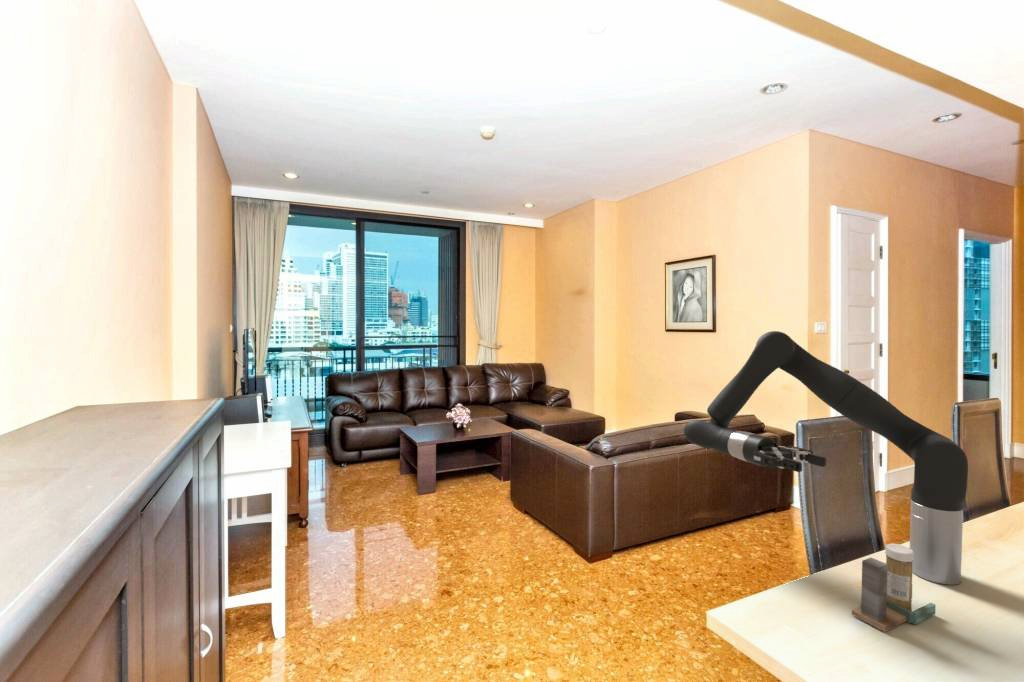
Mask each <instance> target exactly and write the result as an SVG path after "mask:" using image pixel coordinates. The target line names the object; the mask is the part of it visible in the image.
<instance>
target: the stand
mask: <svg viewBox="0 0 1024 682" xmlns="http://www.w3.org/2000/svg"><path fill="white" fill-rule="evenodd" d="M861 561H862V563H861V599H860V600H861V601H860V605H859V606H857V607H855V608H853V609H851V616H854V617H856V618H857V619H859V620H860V621H864V622H865V623H867V624H869V625H871V626H873V627H875V628H877V629H879V630H880V631H882V632H884V633H885V632H887V631H889V630H892V629H893V628H896V627H897V626H899V625H901V624H903V623H905V622H909V623H910V624H913V625H916V624H919V623H920V622H923V621H924V620H926V619H928V618H930V617H932V616H935V615H936V604H935V603H933V602H929V603H927V604H925V605H923V606H921V607H919V608H916V609H915V610H912V611H910V610H907V609H905V608H903V607H901V606H899V605H897V604H895V603H893V602H890V601H888V600H887V569H888V564H886V563H885V562H884V561H881V560H878V559H876V558H874V557H869V558H866V559H863V560H861Z"/></svg>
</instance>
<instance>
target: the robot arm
mask: <svg viewBox="0 0 1024 682" xmlns="http://www.w3.org/2000/svg"><path fill="white" fill-rule="evenodd" d="M778 369H780V370H782V371H783V372H785V373H787V374H789V375H791V376H792V377H794V378H795V379H796V380H798V381H799V382H801V384H803V385H804V386H805V387H806V388H807V389H809V390H810V391H811V392H812V393H813V394H814V395H815V396H816V397H817V398H819V399H820V400H821V401H822V402H823V403H825V404H826V405H828V406H829V407H830V408H832V409H833V410H834V411H836V412H838V414H841V415H842V416H844V417H845V418H847V419H849V420H850V421H852V422H853V423H856V424H857V425H859V426H862V427H863V428H865V429H867V430H869V431H871V432H874V433H876V434H878V435H879V436H880V437H881V436H882V437H883V438H885V439H887V441H889V442H890V443H892V444H893V445H894V446H896V447H897V448H898V449H900V451H901V452H903V453H904V454H906V456H907V457H909V458H910V459H911V460H913V461H914V471H913V473H914V475H913V484H912V488H911V490H910V521H909V522H910V523H909V548H910V549H911V550H912V551H913V553H914V560H913V562H912V574H914V575H916V576H917V577H920V578H922V579H923V580H927V581H930V582H933V583H937V584H943V585H951V586H952V585H953V586H954V585H959V584H961V581H962V580H961V579H962V561H963V559H962V555H963V528H964V527H963V524H964V522H963V519H964V518H963V516H964V502H965V499H967V498H966V497H967V492H968V491H967V490H968V476H969V474H968V473H969V462H968V461H969V460H968V457H967V454H966V452H965V450H963V448H961V447H960V446H959V445H958V444H957V443H956V442H955V441H953V440H952V439H950V438H949V437H947V436H945V435H943V434H941V433H938V432H937V431H935V430H932V429H931V428H929V427H927V426H925V425H923V424H922V423H919V422H918V421H916V420H915V419H912V418H911V417H909V416H908V415H906V414H904V413H903V411H901V410H899V409H898V408H897V407H896V406H895V405H893V404H892V403H891V402H890V401H888V400H887V399H886V398H885V397H883V396H882V395H880V394H879V393H877V392H876V391H875V390H874V389H872V388H871V387H869V386H867V385H866V384H865V383H863V382H861V381H859V380H858V379H857V378H855V377H853V376H851V375H849V374H848V373H846V372H844V371H842V370H840V369H839V368H837V367H835V366H832V365H831V364H828V363H826V362H825V361H822V360H820V359H818V358H817V357H815V356H814V355H812V354H811V353H809V351H807V350H806V349H804V348H803V347H802V346H800V345H799V344H798V343H797V342H795V340H793V338H791V336H789V335H788V334H786V333H785V332H783V331H779V330H778V331H776V330H771V331H768V332H766V333H763V334H762V335H761V336H760V337H759V338H758V339H757V341H756V344H755V347H754V349H753V350H752V352H751V354H750V355H749V357H748V358H747V360H746V362H745V363H744V364H743V366H742V367H741V369H740V370H739V371H738V372H737V374H736V375H735V376H734V377H733V378H732V379H731V380H730V381H729V382H728V383H727V384H726V386H725V387H723V388H722V390H721V391H720V392H719V393H718V394H717V395H716V397H715V398H714V399H713V400H712V402H711V403H710V404H709V405H708V407H707V409H706V411H707V414H708V415H709V417H710V420H709V421H708V422H707V421H705V420H700V419H691V420H689V421H688V422H686V424H685V425H684V428H683V435H684V437H685V439H686V440H687V441H688V442H689V443H691V444H694V445H696V446H699V447H701V448H703V449H706V450H710V449H713V450H715V451H716V452H720V453H722V454H724V455H728V456H731V457H733V458H737V459H738V460H741V461H744V462H746V463H751V464H754V465H757V466H760V467H767V468H770V469H773V470H776V469H777V468H779V469H786V470H790V471H794V472H797V473H800V472H803V463H805V464H806V463H807V464H811V465H814V466H818V467H821V468H823V467H824V468H825V467H826V466H827V458H826V457H825V456H821V455H818V454H814V451H813V450H812V449H807V448H803V447H799V446H794V445H788V446H787V447H786V446H783V445H777V443H776V442H775V440H774V439H773V438H771V437H770V436H766V435H762V434H758V433H757V434H756V433H752V432H748V431H744V430H743V431H740V430H738V429H737V430H736V429H732V428H729V426H730V423H731V421H732V420H733V419H734V418H735V417H736V416H737V415H738V413H740V411H741V410H742V409H743V407H744V406H745V405H746V404H747V402H749V400H750V399H751V397H752V395H753V394H754V393H755V392H756V390H757V389H758V388H759V387H760V385H761V384H762V383H763V382H764V381H765V380H766V379H767V378H768V377H769V376H770V375H771V374H772V373H774V372H775V371H776V370H778ZM793 458H795V459H793Z"/></svg>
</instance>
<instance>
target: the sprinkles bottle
mask: <svg viewBox="0 0 1024 682" xmlns="http://www.w3.org/2000/svg"><path fill="white" fill-rule="evenodd" d="M884 553H885V556H886V559H885V560H886V561H885V562H886V564H888V569H887V600H888V601H890V602H893V603H895V604H897V605H899V606H901V607H903V608H905V609H907V610H910V611H913V609H912V607H913V603H912V601H913V600H912V599H913V572H912V562H913V560H914V553H913V551H912V550H911V549H910V547H908V546H906V545H902V544H898V543H888V544H886V545H885V552H884Z"/></svg>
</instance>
